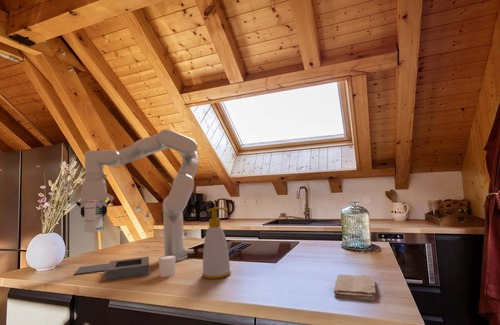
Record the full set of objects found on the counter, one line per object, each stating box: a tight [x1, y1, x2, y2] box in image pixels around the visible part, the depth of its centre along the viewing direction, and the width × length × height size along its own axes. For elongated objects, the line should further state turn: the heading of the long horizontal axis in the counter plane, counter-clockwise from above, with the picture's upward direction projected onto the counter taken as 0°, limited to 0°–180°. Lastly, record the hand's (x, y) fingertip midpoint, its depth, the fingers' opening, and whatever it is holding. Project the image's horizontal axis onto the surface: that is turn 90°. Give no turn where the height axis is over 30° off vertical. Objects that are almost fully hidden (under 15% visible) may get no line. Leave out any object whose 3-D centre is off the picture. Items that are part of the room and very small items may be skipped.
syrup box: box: [83, 199, 105, 233], centre depth 130 cm, size 6×6×14 cm
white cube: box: [157, 256, 177, 278], centre depth 115 cm, size 7×7×7 cm
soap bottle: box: [201, 206, 232, 280], centre depth 113 cm, size 11×12×26 cm
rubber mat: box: [73, 262, 110, 276], centre depth 129 cm, size 12×12×1 cm
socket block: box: [104, 256, 150, 282], centre depth 121 cm, size 16×16×4 cm
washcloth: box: [333, 274, 376, 302], centre depth 90 cm, size 12×18×3 cm, turn 160°
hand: (94, 215), depth 130 cm, fingers closed on syrup box, 7 cm apart
